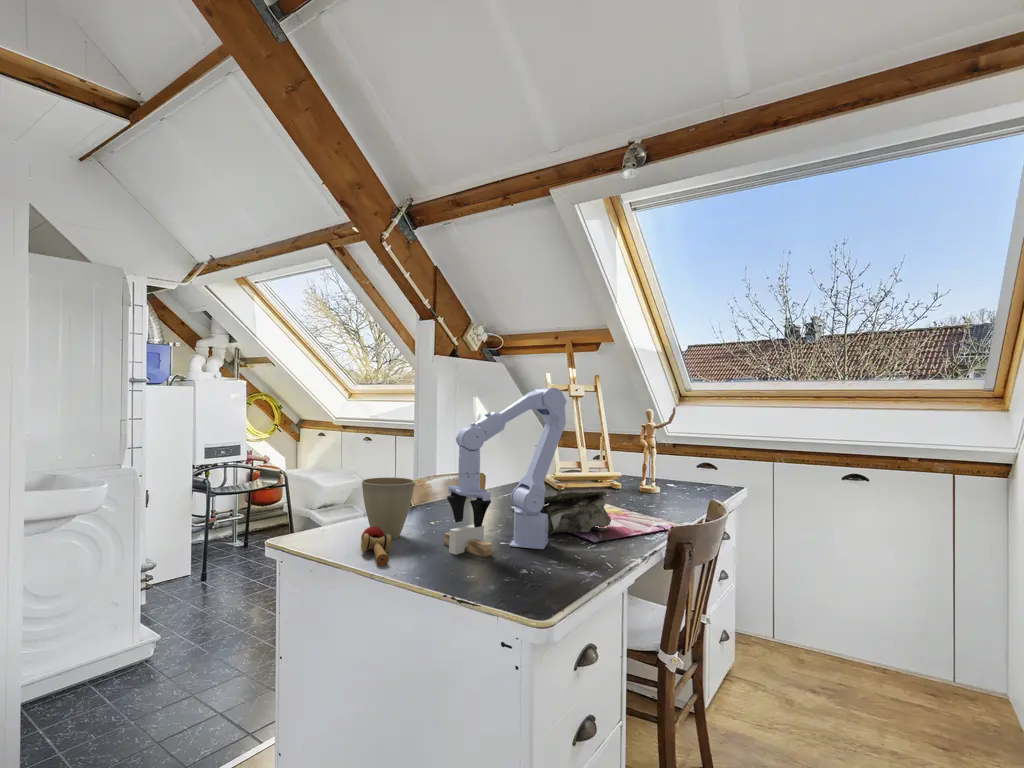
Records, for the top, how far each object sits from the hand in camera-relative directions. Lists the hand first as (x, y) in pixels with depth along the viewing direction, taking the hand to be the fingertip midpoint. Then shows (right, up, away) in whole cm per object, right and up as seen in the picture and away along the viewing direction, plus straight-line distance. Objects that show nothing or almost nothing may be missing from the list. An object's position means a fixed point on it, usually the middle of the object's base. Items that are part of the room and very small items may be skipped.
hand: (468, 524), depth 147 cm
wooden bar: (0, -7, 0) cm, 7 cm away
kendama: (-22, -7, -7) cm, 24 cm away
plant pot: (-24, -7, +12) cm, 28 cm away
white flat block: (0, -7, 0) cm, 7 cm away
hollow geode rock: (+29, -8, +23) cm, 38 cm away
